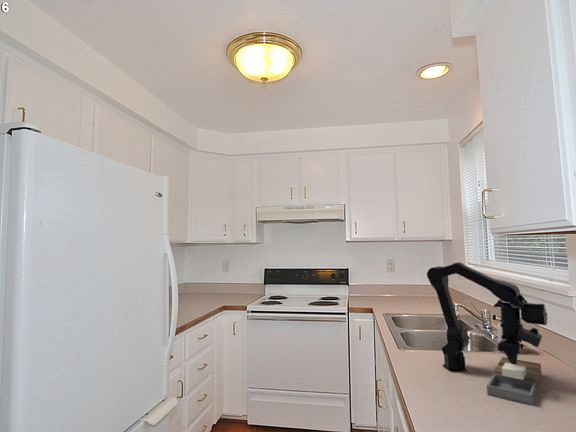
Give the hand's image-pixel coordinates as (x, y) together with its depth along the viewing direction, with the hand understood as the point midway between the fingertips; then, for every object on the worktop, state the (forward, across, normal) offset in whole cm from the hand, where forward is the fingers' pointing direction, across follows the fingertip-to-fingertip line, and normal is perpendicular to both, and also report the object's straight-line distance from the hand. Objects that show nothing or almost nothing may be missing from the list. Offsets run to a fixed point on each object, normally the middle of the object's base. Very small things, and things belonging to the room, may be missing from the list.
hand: (514, 366), depth 123 cm
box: (+6, -10, 0) cm, 11 cm away
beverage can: (+6, +34, +7) cm, 35 cm away
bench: (+6, +5, 0) cm, 7 cm away
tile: (+2, -4, 0) cm, 4 cm away
